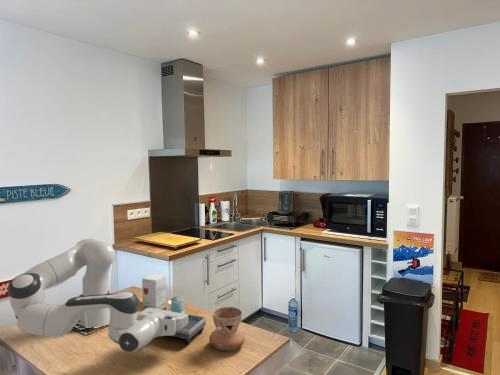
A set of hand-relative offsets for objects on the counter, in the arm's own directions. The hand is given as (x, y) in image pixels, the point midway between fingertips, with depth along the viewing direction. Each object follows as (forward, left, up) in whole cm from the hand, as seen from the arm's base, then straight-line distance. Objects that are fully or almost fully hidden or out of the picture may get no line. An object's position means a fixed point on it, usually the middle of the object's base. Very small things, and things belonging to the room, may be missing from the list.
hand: (174, 310), depth 149 cm
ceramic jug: (+24, +3, -12) cm, 27 cm away
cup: (-12, +17, -12) cm, 24 cm away
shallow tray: (0, +3, -12) cm, 13 cm away
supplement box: (-30, +27, -12) cm, 43 cm away
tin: (0, +3, -7) cm, 8 cm away
